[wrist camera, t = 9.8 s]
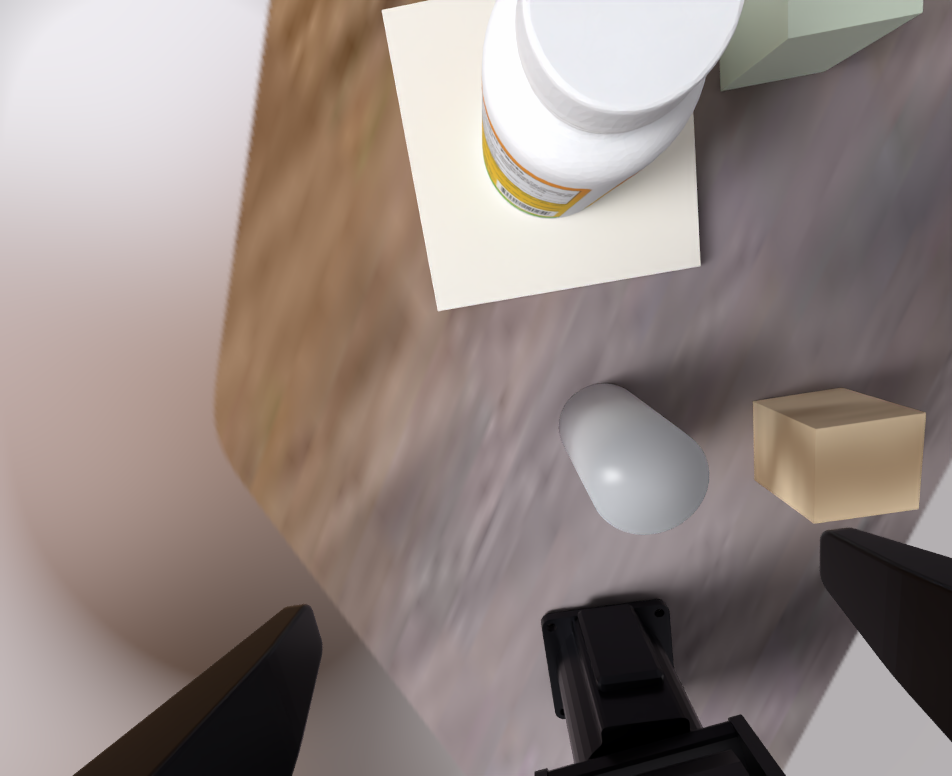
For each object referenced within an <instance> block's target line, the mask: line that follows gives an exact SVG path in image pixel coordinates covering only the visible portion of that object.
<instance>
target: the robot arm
mask: <svg viewBox="0 0 952 776" xmlns="http://www.w3.org/2000/svg"><path fill="white" fill-rule="evenodd" d="M820 576H821V580H822V582H823V584H824V586H825V588H826V589H827V591H828V592H829V593H830V594H831V596H832V597H833V598H834V600H835V601H836V602H837V604H838V605H839V606H840V608H841V609H842V610H843V611H844V613H845V614H846V615H847V617H848V618H849V619H850V621H851V622H852V623H853V625H854V626H855V627H856V629H857V630H858V631H859V632H860V634H861V635H862V636H863V638H864V639H865V640H866V642H867V643H868V644H869V646H870V647H871V648H872V650H873V651H874V652H875V653H876V655H877V656H878V657H879V659H880V660H881V661H882V662H883V664H884V665H885V666H886V668H887V669H888V670H889V671H890V673H891V674H892V675H893V676H894V677H895V679H896V680H897V681H898V682H899V683H900V684H901V686H902V687H903V688H904V689H905V690H906V691H907V693H908V694H909V695H910V696H911V697H912V698H913V699H914V700H915V702H916V703H917V704H918V705H919V706H920V707H921V708H922V709H923V710H924V712H925V713H926V714H927V715H928V716H929V717H930V718H931V719H932V721H934V723H935V724H936V725H937V726H938V727H939V728H940V729H941V731H942V732H943V733H944V734H945V735H946V736H947V737H948V738H949V739H950V740H951V742H952V558H949V557H946V556H943V555H940V554H936V553H933V552H930V551H927V550H923V549H920V548H917V547H913V546H910V545H907V544H903V543H900V542H897V541H893V540H890V539H887V538H884V537H880V536H877V535H874V534H870V533H867V532H864V531H860V530H857V529H854V528H840V529H833V530H827V531H825V532H823V533H822V535H821V537H820ZM657 609H660V611H657V612H655V611H656V610H657ZM551 623H553V624H554V625H552V626H548V624H551ZM541 626H542V632H543V639H544V645H545V651H546V658H547V664H548V670H549V677H550V683H551V689H552V696H553V702H554V708H555V713H556V716H557V717H559V718H561V719H566V723H567V728H568V733H569V738H570V743H571V749H572V754H573V759H574V764H571V765H567V766H564V767H560V768H556V769H553V770H548V768H546V769H542V770H539V771H535V776H786V775H785V774H784V772H783V771H782V770H781V768H780V767H779V766H778V764H777V763H776V761H775V760H774V759H773V757H772V756H771V755H770V753H769V752H768V750H767V749H766V748H765V746H764V745H763V743H762V742H761V741H760V739H759V738H758V737H757V735H756V734H755V732H754V731H753V730H752V728H751V727H750V725H749V724H748V723H747V721H746V720H745V719H744V717H743V716H742V715H741V714H740V715H737V716H733V717H730V718H728V721H726V722H723V723H719V724H715V725H712V726H708V727H705V728H703V727H702V725H701V723H700V721H699V719H698V717H697V715H696V713H695V711H694V709H693V707H692V705H691V703H690V701H689V699H688V697H687V695H686V692H685V690H684V688H683V686H682V684H681V682H680V680H679V678H678V676H677V674H676V672H675V670H674V666H673V653H672V639H671V626H670V613H669V609H668V607H667V605H666V604H665V602H664V601H662V600H660V599H654V600H647V601H639V602H632V603H624V604H617V605H610V606H602V607H595V608H588V609H580V610H573V611H565V612H558V613H551V614H547V615H545V616H543V618H542V619H541ZM321 657H322V640H321V636H320V633H319V630H318V626H317V623H316V620H315V616H314V613H313V610H312V608H311V607H310V606H309V605H307V604H302V605H294V606H289V607H285V608H284V609H283V610H281V611H280V612H279V613H277V614H276V615H275V616H273V617H272V618H271V619H270V620H269V621H267V622H266V623H265V624H264V625H262V626H261V627H260V628H258V629H257V630H256V631H254V633H252V634H251V635H250V636H248V637H247V638H246V639H244V640H243V641H242V642H241V643H239V644H238V645H237V646H236V647H234V648H233V649H232V650H230V652H228V653H227V654H226V655H224V656H223V657H222V658H220V659H219V660H218V661H217V662H215V663H214V664H213V665H212V666H210V667H209V668H208V669H207V670H205V671H204V672H203V673H202V674H200V675H199V676H198V677H196V678H195V679H194V680H193V681H191V682H190V683H189V684H188V685H186V686H185V687H184V688H183V689H182V690H180V691H179V692H177V693H176V694H175V695H174V696H172V697H171V698H170V699H169V700H167V701H166V702H165V703H164V704H162V705H161V706H160V707H159V708H157V709H156V710H155V711H154V712H152V713H151V714H150V715H148V716H147V717H146V718H145V719H143V720H142V721H141V722H140V723H138V724H137V725H136V726H135V727H133V728H132V729H131V730H129V731H128V732H127V733H126V734H124V735H123V736H122V737H121V738H119V739H118V740H117V741H116V742H115V743H113V744H112V745H111V746H109V747H108V748H107V749H106V750H104V751H103V752H102V753H100V754H99V755H98V756H97V757H95V758H94V759H93V760H92V761H90V762H89V763H88V764H87V765H85V766H84V767H83V768H82V769H80V770H79V771H78V772H76V773H75V774H74V775H73V776H292V774H293V771H294V768H295V764H296V761H297V758H298V754H299V751H300V747H301V743H302V739H303V735H304V731H305V727H306V722H307V718H308V713H309V710H310V705H311V701H312V697H313V692H314V688H315V683H316V679H317V675H318V670H319V666H320V661H321ZM563 708H564V709H563Z"/></svg>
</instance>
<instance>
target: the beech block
mask: <svg viewBox="0 0 952 776" xmlns="http://www.w3.org/2000/svg"><path fill="white" fill-rule="evenodd" d="M925 421H926V413H925V412H922V411H919V410H915V409H912V408H909V407H905V406H902V405H899V404H895V403H892V402H889V401H885V400H882V399H879V398H875V397H872V396H869V395H865V394H862V393H858V392H855V391H852V390H848V389H845V388H836V389H829V390H823V391H816V392H810V393H803V394H797V395H790V396H784V397H777V398H771V399H764V400H758V401H753V426H754V480H755V481H757V482H758V483H759V484H761V485H762V486H763V487H765V488H766V489H767V490H769V491H770V492H772V493H773V494H774V495H776V496H777V497H778V498H780V499H781V500H783V501H784V502H785V503H787V504H788V505H789V506H791V507H792V508H793V509H795V510H796V511H798V512H799V513H800V514H802V515H803V516H804V517H806V518H807V519H808V520H810V521H811V522H813V523H814V524H815V523H822V522H829V521H837V520H844V519H851V518H858V517H865V516H873V515H880V514H887V513H894V512H901V511H908V510H916V509H919V496H920V484H921V471H922V459H923V446H924V433H925Z"/></svg>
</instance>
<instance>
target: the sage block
mask: <svg viewBox="0 0 952 776" xmlns="http://www.w3.org/2000/svg"><path fill="white" fill-rule="evenodd" d="M921 13H923V0H744V4H743V9H742V12H741V15H740V18H739V21H738V24H737V27H736V30H735V32H734V34H733V36H732V38H731V40H730V42H729V44H728V46H727V48H726V49H725V51H724V53H723V54H722V56H721V57H720V89H721V91H725V90H731V89H736V88H741V87H746V86H752V85H757V84H762V83H767V82H773V81H778V80H783V79H789V78H794V77H799V76H804V75H810V74H815V73H820V72H825V71H827V70H828V69H830V68H832V67H833V66H835V65H837V64H838V63H840V62H841V61H843V60H845V59H846V58H848V57H850V56H851V55H853V54H855V53H856V52H858V51H860V50H861V49H863V48H865V47H866V46H868V45H870V44H871V43H873V42H875V41H876V40H878V39H880V38H881V37H883V36H885V35H886V34H888V33H890V32H891V31H893V30H895V29H896V28H898V27H900V26H901V25H903V24H905V23H906V22H908V21H910V20H911V19H913V18H915V17H916V16H918V15H920V14H921Z"/></svg>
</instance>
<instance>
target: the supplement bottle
mask: <svg viewBox="0 0 952 776" xmlns="http://www.w3.org/2000/svg"><path fill="white" fill-rule="evenodd" d="M743 4H744V0H496V2H495V4H494V7H493V9H492V12H491V15H490V18H489V21H488V25H487V29H486V33H485V39H484V44H483V56H482V76H481V78H482V88H481V89H482V149H483V158H484V164H485V168H486V171H487V174H488V176H489V178H490V181H491V183H492V184H493V186H494V187H495V189H496V190H497V192H498V193H499V194H500V196H501V197H502V198H503V199H504V200H505V201H506V202H507V203H508V204H510V205H511V206H512V207H514V208H515V209H517V210H518V211H520V212H522V213H524V214H527V215H530V216H533V217H537V218H544V219H555V218H562V217H566V216H570V215H573V214H575V213H578V212H580V211H581V210H583V209H585V208H587V207H589V206H590V205H592V204H593V203H594V202H596V201H597V200H599V199H600V198H602V197H603V196H604V195H606V194H607V193H609V192H610V191H612V190H613V189H615V188H616V187H618V186H619V185H620V184H622V183H623V182H625V181H626V180H628V179H629V178H631V177H632V176H634V175H635V174H637V173H638V172H640V171H641V170H642V169H644V168H645V167H646V166H648V165H649V164H650V163H651V162H653V161H654V160H655V159H656V158H657V157H658V156H659V155H660V154H662V153H663V152H664V151H665V150H666V149H667V148H668V147H669V146H670V144H671V143H672V142H673V141H674V140H675V139H676V137H677V136H678V135H679V134H680V132H681V131H682V129H683V128H684V126H685V125H686V123H687V122H688V120H689V118H690V116H691V115H692V113H693V111H694V109H695V106H696V104H697V102H698V100H699V97H700V95H701V92H702V89H703V86H704V83H705V78H706V76H707V74H708V73H709V72H710V71H711V70H712V69H713V67H714V66H715V65H716V64H717V62H718V60H719V59H720V57H721V56H722V54H723V53H724V51H725V49H726V48H727V46H728V44H729V42H730V40H731V38H732V36H733V34H734V32H735V30H736V27H737V24H738V21H739V18H740V15H741V12H742V9H743Z"/></svg>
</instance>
